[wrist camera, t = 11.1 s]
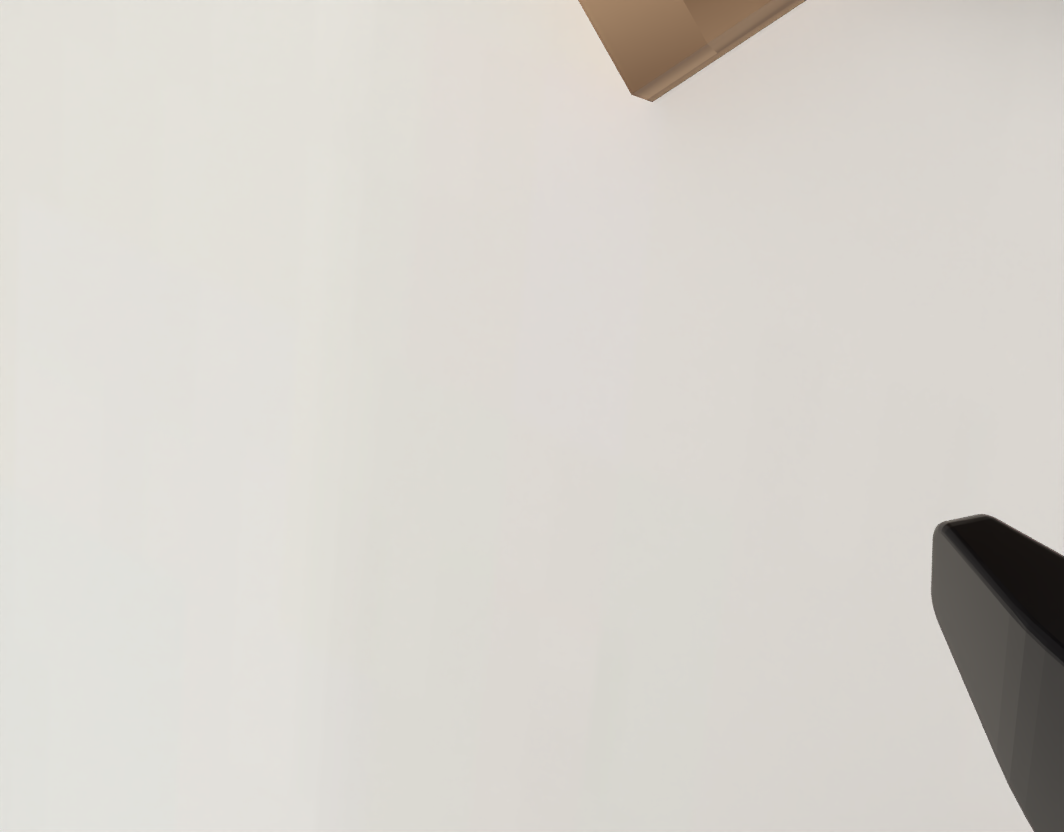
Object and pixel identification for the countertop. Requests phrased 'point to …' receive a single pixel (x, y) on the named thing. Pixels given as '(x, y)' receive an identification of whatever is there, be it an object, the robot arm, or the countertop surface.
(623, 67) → the wooden tray
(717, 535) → the countertop surface
